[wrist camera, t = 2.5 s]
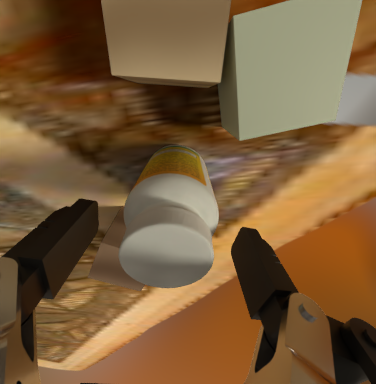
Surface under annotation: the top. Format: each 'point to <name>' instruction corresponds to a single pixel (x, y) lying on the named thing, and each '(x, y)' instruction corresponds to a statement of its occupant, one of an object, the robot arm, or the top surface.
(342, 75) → the sage block
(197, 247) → the supplement bottle
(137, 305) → the top surface
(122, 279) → the walnut block
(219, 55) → the oak block
